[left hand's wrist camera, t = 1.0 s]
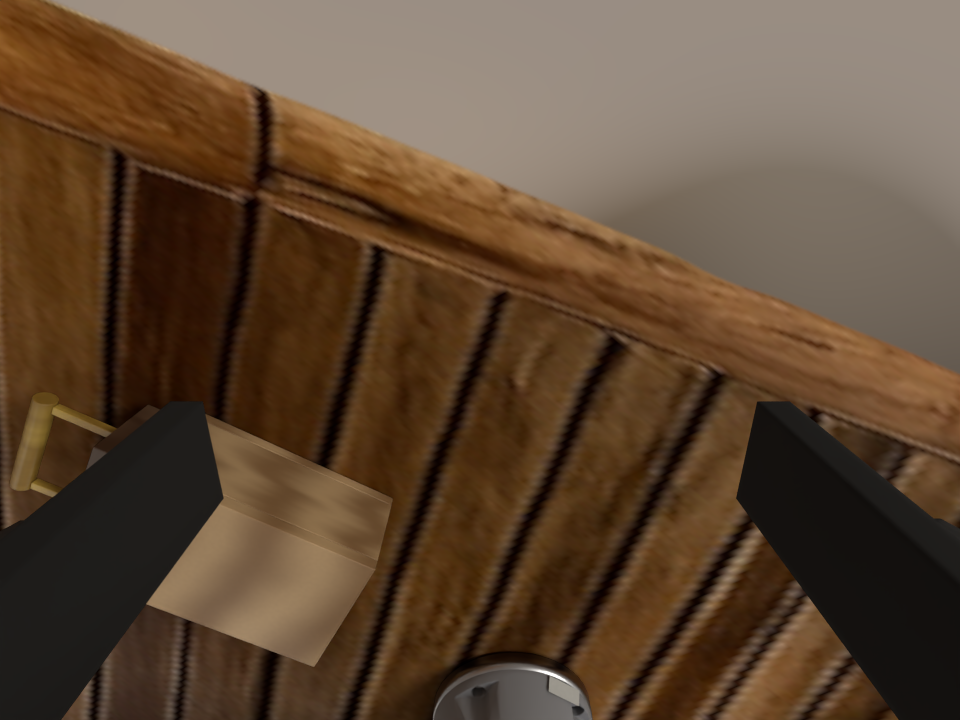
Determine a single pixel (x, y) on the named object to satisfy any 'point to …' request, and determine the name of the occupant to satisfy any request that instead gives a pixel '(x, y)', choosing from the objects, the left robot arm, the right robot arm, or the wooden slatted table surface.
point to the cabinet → (277, 549)
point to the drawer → (38, 433)
